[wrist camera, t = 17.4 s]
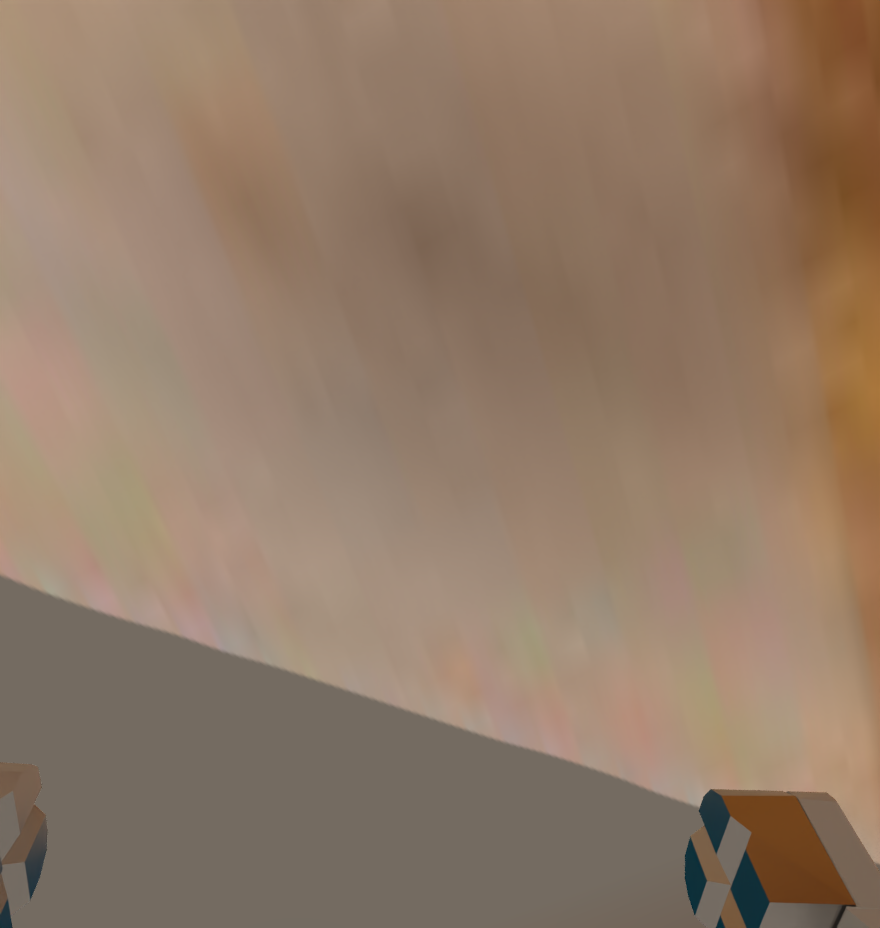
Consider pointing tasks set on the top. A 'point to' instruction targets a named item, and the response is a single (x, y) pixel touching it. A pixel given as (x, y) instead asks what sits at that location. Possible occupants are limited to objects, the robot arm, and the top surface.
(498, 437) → the top surface
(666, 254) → the top surface
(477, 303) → the top surface
